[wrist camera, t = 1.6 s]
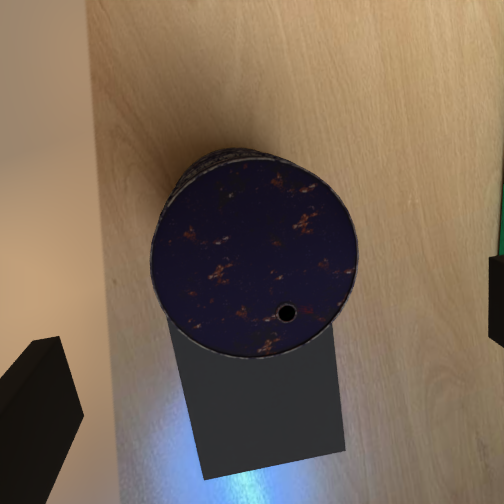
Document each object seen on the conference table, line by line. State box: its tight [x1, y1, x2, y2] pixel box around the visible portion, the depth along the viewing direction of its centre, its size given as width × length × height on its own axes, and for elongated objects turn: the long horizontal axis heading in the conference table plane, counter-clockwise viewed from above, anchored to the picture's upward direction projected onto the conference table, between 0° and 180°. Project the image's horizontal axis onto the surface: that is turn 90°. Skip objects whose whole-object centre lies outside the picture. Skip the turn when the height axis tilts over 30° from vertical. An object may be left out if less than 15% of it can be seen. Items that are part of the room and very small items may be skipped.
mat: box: [166, 316, 346, 480], centre depth 38 cm, size 18×14×1 cm
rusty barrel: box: [150, 148, 359, 359], centre depth 26 cm, size 10×10×15 cm
